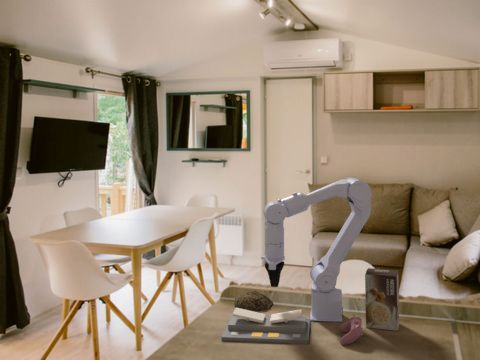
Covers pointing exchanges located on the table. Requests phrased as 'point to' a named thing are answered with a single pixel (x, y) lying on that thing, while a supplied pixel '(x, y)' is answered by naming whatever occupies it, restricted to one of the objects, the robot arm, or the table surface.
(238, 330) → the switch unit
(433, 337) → the table surface
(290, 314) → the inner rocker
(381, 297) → the coffee box
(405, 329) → the table surface
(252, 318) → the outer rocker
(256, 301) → the bread roll
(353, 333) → the pink curved piece
